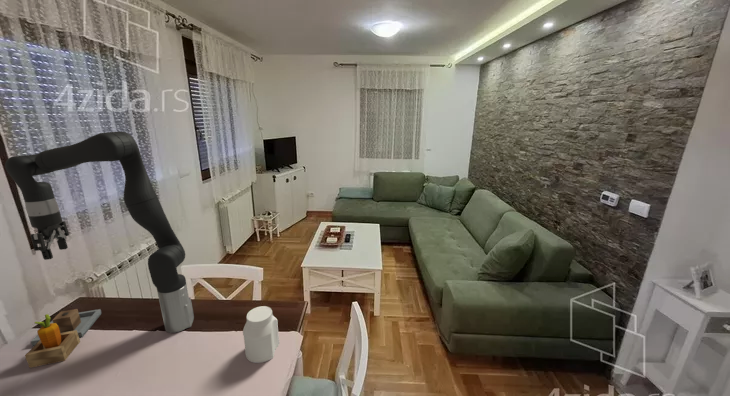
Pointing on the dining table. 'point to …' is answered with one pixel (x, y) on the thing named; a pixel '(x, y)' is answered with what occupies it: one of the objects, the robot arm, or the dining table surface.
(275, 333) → the jar
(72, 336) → the wooden crate
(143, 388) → the dining table surface
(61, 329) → the walnut block
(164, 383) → the dining table surface
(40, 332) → the carrot
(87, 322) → the tray
